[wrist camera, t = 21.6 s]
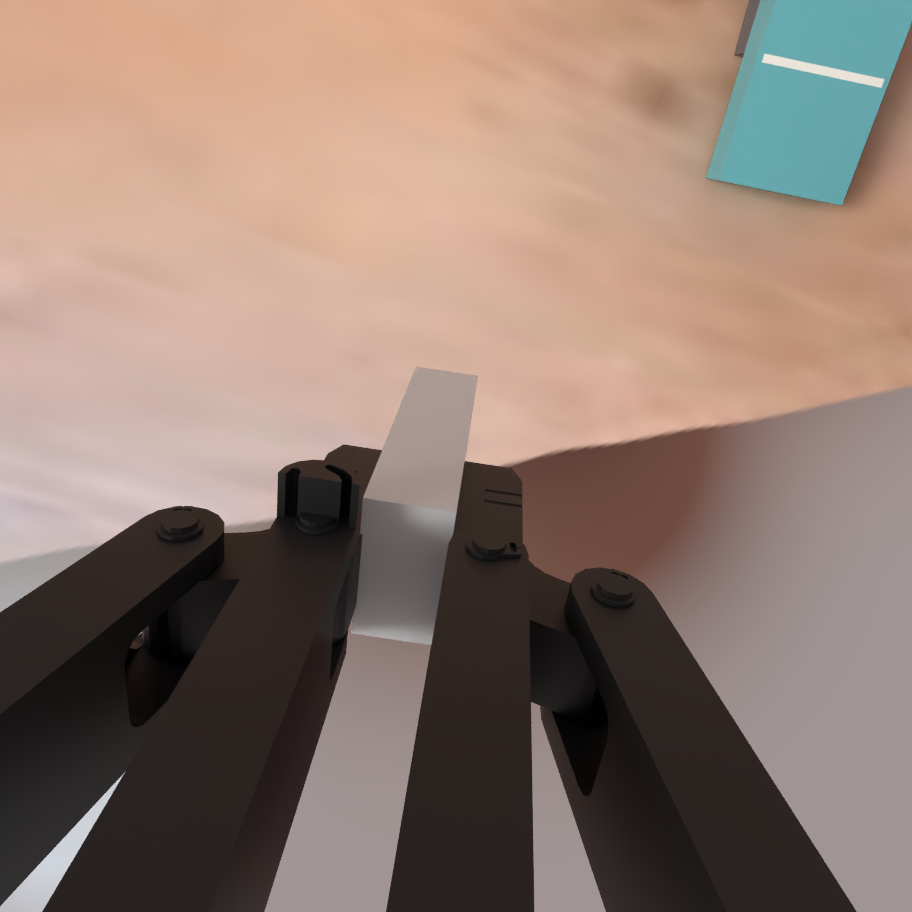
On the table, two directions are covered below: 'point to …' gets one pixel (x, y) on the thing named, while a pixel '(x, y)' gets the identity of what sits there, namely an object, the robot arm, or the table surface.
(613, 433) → the table surface
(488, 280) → the table surface
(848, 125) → the teal domino
